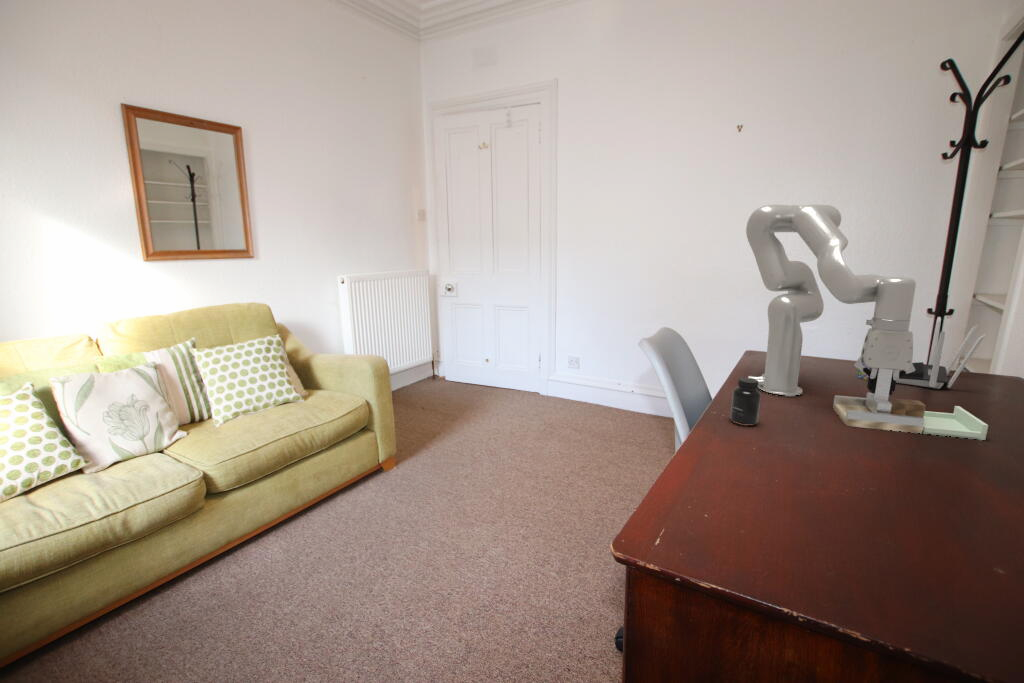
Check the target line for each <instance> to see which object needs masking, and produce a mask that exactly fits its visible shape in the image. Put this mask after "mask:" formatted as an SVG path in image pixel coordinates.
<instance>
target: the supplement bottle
mask: <svg viewBox="0 0 1024 683" xmlns="http://www.w3.org/2000/svg"><path fill="white" fill-rule="evenodd" d="M758 384H759V383H758V381H757V380H755V379H752V378H748V377H740V378H738V380H737V387H735V388H734V389H733V391H732V398H731V406H730V416H729V419H730V418H731V419H732V420H733V421H735V422H738V423H741V424H756V423H757V424H758V422H759V416H760V406H761V398H762V394H761V392H760V390H759V389H758ZM757 424H756V425H757Z"/></svg>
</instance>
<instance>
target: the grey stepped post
mask: <svg viewBox="0 0 1024 683" xmlns="http://www.w3.org/2000/svg"><path fill="white" fill-rule="evenodd" d="M892 372H893V370H892V369H878V370H877V373H876V379H877V384H876V390H875V393H871V392H870V391H868V392H866V397H865V398H866V403H865V404H866V405H867V407H868V408H869V409H870V410H871V411H872V412H876V413H887V414H890V413H891V407H892V404H891V403H890V402H889V401H888V398H890V397H889V396H890V395H889V391H890V385H891V378H892Z"/></svg>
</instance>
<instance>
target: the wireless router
mask: <svg viewBox="0 0 1024 683" xmlns="http://www.w3.org/2000/svg"><path fill="white" fill-rule="evenodd" d="M941 321H942V317H941V316H938V317H937V319H936V322H935V326H934V332H933V338H932V343H931V349H930V353H929V360H928V363H927V364H926V363H924V362H920V361H919V362H912V364H913V366H914V368H915V371H914V372H911V373H908V374H905V375H904V376H902V377H900V378H899V380H897V381H896V384H904V385H910V386H911V385H912V386H918V387H924V388H932V389H936V390H937V389H938V390H939V389H941V388H942V387H943V386H944V387H945V386H946V388H951V387H952V386H953V384H954V383H955V381H956V380H957V378H958V377H959V376H960V373H961V372H962V371H963V369H964V368H965V366H966V365H967V363H969V360H970V359H971V357H972V356H973V354H974V353H975V351H976V350H977V348H978V347H979V346H980V344H981V343H982V342H983V340H984V338H985V337H986V334H983V335H982V336H979V337H978V338H977V339H976V340H975V343H974V344H973V345H972V347H971V348H970V350H969V351H968V353H967V354H966V356H965V357H964V359H963V360H962V362H961V363H960V365H959V366H958V367H957V369H956V371H955V372H954V374H953V375H952V377H951V378H950V379H949V378H948V375H949V373H950V371H952V369H953V367H954V366H955V364H956V362H957V361H958V359H959V357H960V355H961V354H962V352H963V351H964V349H965V347H966V346H967V343H969V341H970V339H971V338H972V336H973V335H974V333H975V331H976V329H977V328H978V326H979V325H980V324H979V323H977V324H976V325H974V326H973V327H971V328H970V330H969V332H968V333H967V335H966V336H965V338H964V340H963V341H962V343H961V344H960V347H959V348H958V349H957V351H956V353H955V354H954V356H953V358H952V359H951V360H950V363H949V364H948V366H947V368H946V367H945V366H943V365H940V363H941V359H942V353H943V347H944V342H945V336H946V332H945V331H941Z"/></svg>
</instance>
